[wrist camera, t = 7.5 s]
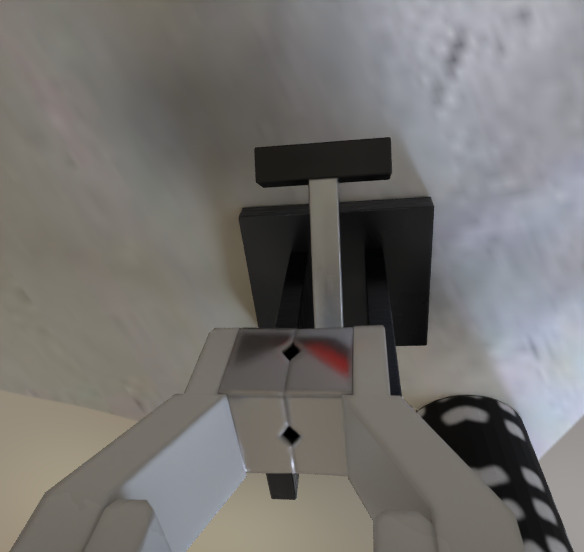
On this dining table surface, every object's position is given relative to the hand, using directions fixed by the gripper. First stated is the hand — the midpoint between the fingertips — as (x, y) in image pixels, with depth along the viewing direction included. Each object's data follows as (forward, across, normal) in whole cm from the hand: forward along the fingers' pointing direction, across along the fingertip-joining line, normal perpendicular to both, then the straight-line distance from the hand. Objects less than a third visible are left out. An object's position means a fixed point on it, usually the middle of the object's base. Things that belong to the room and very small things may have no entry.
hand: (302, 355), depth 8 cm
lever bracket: (+17, 0, +9) cm, 19 cm away
